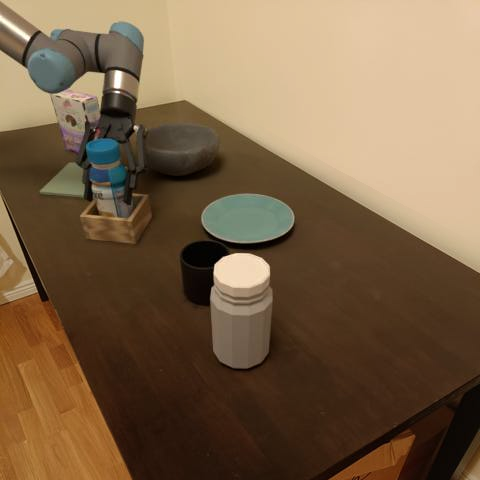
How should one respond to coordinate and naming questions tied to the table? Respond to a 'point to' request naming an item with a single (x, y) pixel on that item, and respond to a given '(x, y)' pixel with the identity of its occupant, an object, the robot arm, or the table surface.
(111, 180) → the beverage bottle
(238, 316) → the jar
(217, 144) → the bowl
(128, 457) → the table surface
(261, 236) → the plate
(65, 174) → the mat
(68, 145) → the candy box
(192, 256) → the mug
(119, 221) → the wooden box
